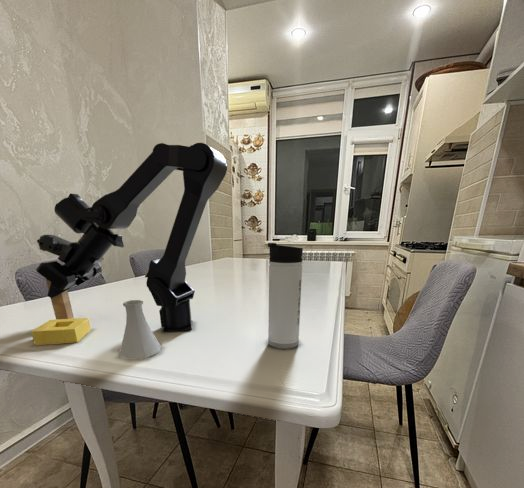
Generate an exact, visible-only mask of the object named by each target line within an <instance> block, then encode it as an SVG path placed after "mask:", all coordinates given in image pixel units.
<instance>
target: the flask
mask: <svg viewBox="0 0 524 488" xmlns="http://www.w3.org/2000/svg"><path fill="white" fill-rule="evenodd" d="M143 304H144V301H143V300H140V299H131V300H126V301H123V302H122V306H123V307H124V308H125V313H126V318H125V319H126V320H125V328H124V333H123V338H122V342H121V345H120V350H119V355H118V356H119V357H122V358H124V359H128V360H136V359H137V360H138V359H147V358H149V357H152V356H153V355H156V354H158V353H160V352H159V351H160V350H161V348H162V346H161V344H160V343H159V341H158V339H157V337H156V335H155V333H154V332H153V331H152V329H151V326H150V325H149V324H148V321H147V320H146V316H145V313H144V311H143Z"/></svg>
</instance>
